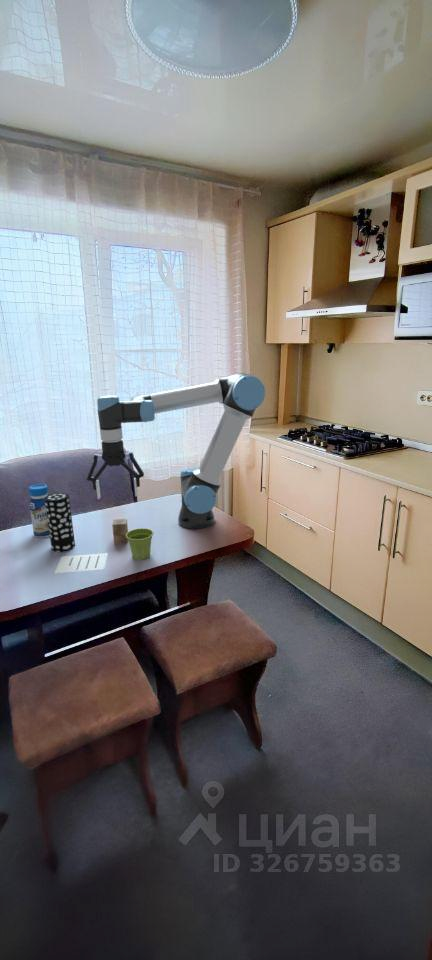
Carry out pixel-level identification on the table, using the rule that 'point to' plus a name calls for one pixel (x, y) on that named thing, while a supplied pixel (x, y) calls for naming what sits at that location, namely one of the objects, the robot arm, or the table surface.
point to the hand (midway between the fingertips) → (117, 496)
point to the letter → (81, 563)
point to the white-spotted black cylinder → (60, 522)
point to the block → (120, 531)
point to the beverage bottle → (39, 510)
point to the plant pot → (140, 542)
